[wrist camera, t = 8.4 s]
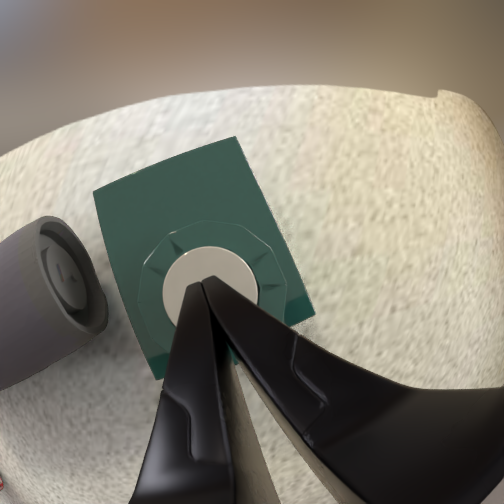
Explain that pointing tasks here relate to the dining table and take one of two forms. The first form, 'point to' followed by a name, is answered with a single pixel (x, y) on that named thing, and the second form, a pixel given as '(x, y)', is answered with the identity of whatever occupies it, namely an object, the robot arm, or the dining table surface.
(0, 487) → the soda can
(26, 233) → the bluetooth speaker
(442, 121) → the dining table surface
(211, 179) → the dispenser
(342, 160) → the dining table surface
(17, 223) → the dining table surface
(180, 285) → the white push button
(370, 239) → the dining table surface
